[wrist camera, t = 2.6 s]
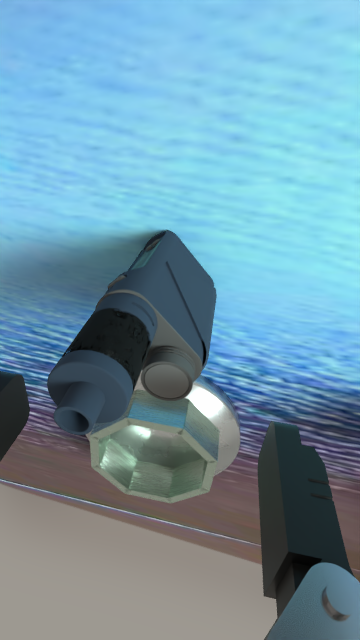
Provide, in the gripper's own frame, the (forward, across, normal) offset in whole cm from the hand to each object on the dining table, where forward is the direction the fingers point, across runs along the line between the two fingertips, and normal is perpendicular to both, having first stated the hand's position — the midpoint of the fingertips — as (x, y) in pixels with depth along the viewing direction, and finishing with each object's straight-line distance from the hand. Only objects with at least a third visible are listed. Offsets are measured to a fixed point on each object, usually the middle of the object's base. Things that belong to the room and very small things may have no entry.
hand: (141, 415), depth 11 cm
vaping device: (+10, 0, -1) cm, 10 cm away
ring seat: (+10, +1, +12) cm, 16 cm away
